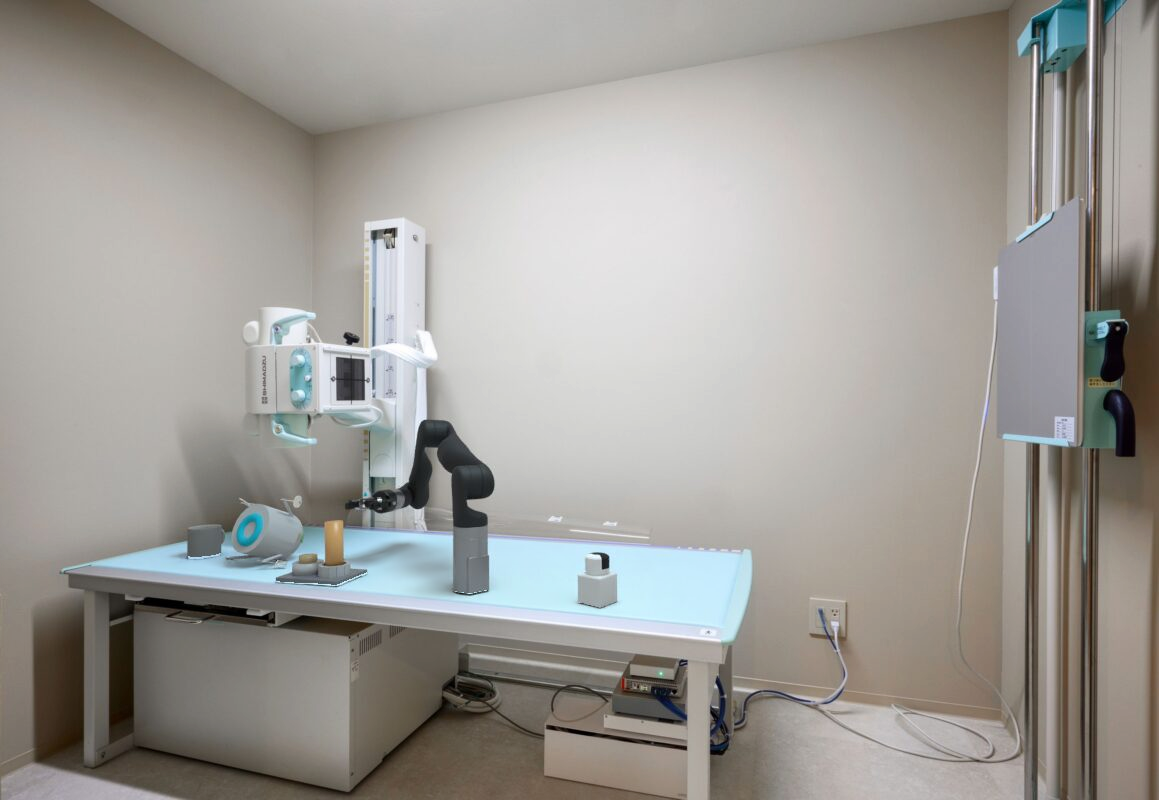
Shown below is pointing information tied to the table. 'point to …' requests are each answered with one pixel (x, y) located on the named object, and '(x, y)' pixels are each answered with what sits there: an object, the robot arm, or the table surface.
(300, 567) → the housing
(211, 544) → the coffee mug
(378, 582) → the table surface
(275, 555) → the satellite
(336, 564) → the cylinder
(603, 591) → the medicine bottle
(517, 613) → the table surface
